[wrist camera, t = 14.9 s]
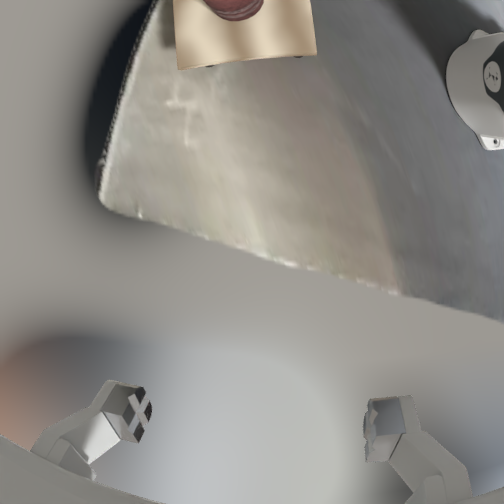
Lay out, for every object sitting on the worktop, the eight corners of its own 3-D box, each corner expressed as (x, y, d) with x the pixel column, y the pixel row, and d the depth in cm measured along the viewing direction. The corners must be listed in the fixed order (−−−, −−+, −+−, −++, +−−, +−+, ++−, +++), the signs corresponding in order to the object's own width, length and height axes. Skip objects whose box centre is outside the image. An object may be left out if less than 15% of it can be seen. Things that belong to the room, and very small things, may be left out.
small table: (300, -34, 30) (299, -57, 24) (314, 64, 36) (316, 53, 30) (189, -18, 33) (171, -37, 26) (196, 75, 39) (177, 69, 32)
